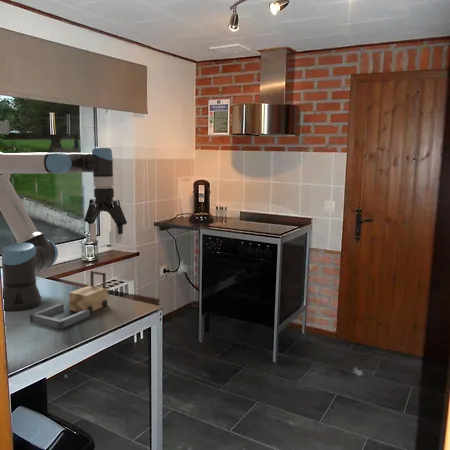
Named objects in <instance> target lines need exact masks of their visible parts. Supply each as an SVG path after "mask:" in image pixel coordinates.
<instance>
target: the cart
mask: <svg viewBox="0 0 450 450" xmlns="http://www.w3.org/2000/svg"><path fill="white" fill-rule="evenodd" d="M94 275H99V276H102V286H98V285H94V281H95V280H94V279H95V278H94ZM106 279H107V277H106V272H100V271H95V270H90V284H89V285H87V286H84V287H81V288H79V289H75V290H73V291H70V292H68V293H69V294H68V297H69V311H73V312H76V313H78V312H81V311H83V310H85V309H89V310H90V314H91V313H92V312H94V311H96V310H98V309H101V308H103V307H106V306H108V287H106V283H107V282H106Z"/></svg>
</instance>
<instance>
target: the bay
mask: <svg viewBox="0 0 450 450" xmlns="http://www.w3.org/2000/svg"><path fill="white" fill-rule="evenodd" d="M64 307H65V305H64V303H61V302H60V303H58V304H55V305H52V306H50V307H47V308H44V309H42V310H38V311H36V312H34V313H31V314H29V322H30V323H35V324H39V325H43V326H46V327H50V328H55V329H58V330H62V329H64V328H67V327H69V326H71V325H73V324H75V323H78V322H79V321H82V320H85V319H87V318H89V317H90V316H91V313H90V310H89V309H85V310H83V311H81V312H76V313H74V314H72V315H69V316H66V317H64V318H61V319H59V318H53V317H51V316H53V315H56V314H58V313H60V312H63V311H64V309H65V308H64Z"/></svg>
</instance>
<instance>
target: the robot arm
mask: <svg viewBox="0 0 450 450" xmlns="http://www.w3.org/2000/svg"><path fill="white" fill-rule="evenodd" d="M113 161H114V159H113V150H112V149H111V148H109V147H93V148H92V149H91V152H61V151H60V152H59V151H58V152H57V151H56V152H55V151H54V152H19V153H18V152H16V153H15V152H13V153H11V152H10V153H9V152H8V153H7V152H6V153H4V152H1V151H0V212H1V214H2V216H3V218H4V220H5V222H6V223H7V225H8V227H9V229H10V230H11V232H12V234H13V236H14V237H15V239H16V243H11V244H8V245H7V246H5V247H4V248H2V251H1V266H2V267H1V268H2V289H3V299H4V309H5V312H25V311H30V310H32V309H35V308H38V307H39V306H41V305H42V297H41V294H40V291H39V288H38V286H37V273H39V272H42V271H45V270H46V269H49V268H50V267H52V266H53V265H54V264H55V263H56V261H57V259H58V256H59V251H58V248H57V245H56V243H54V242H53V241H51V240H49V239H48V238H46V236H45V234H44V233H43V232H40V231H38V229H37V227H36V226H35V224H34V223H33V221H32V219H31V217H30V215H29V213H28V211H27V210H26V208H25V206H24V205H23V203H22V201H21V199H20V197H19V195H18V193H17V192H16V189H15V188H14V186H13V185H12V182H11V181H10V178H11V177H12V176H11V175H13V174H14V175H16V174H18V175H19V174H20V175H21V174H23V175H24V174H25V175H26V174H27V175H28V174H32V175H33V174H34V175H35V174H57V175H59V174H60V175H61V174H62V175H63V174H72V173H73V174H75V173H92V176H93V187H95V188H93V197H94V198H91V199H89V201H88V207H87V210H86V213H85V217H84V220H83V221H84V222H86V223H87V224H88V231H89V237H90V238H89V239H90V241H94V240H97V223H96V220H97V218H98V217H99V215H100V213H102V212H107V214H109V215H110V217H111V219H112V220H113V222H114V223H115V224H116V225H115V227H114V228H115V229H114V230H115V231H114V232H115V243H117V244H118V243H122V242H123V235H122V234H124V229H123V228H124V227H123V226H124V225H127V224H128V221H127V219H126V217H125V213H124V211H123V210H122V206H121V201H120V200H119V199H118V200H117V199H116V200H114V197H115V192H114V191H115V189H114V163H113Z"/></svg>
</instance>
